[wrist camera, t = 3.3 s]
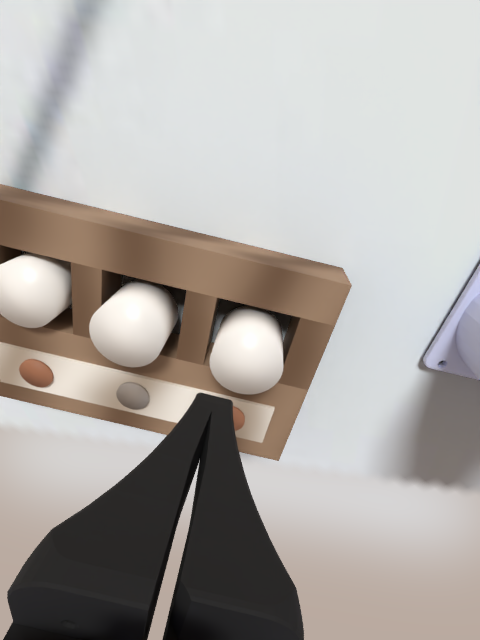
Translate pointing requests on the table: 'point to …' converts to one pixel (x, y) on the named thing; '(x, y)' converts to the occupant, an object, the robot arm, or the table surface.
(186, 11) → the table surface
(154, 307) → the middle button
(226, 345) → the button
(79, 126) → the table surface
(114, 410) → the button board
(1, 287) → the button
